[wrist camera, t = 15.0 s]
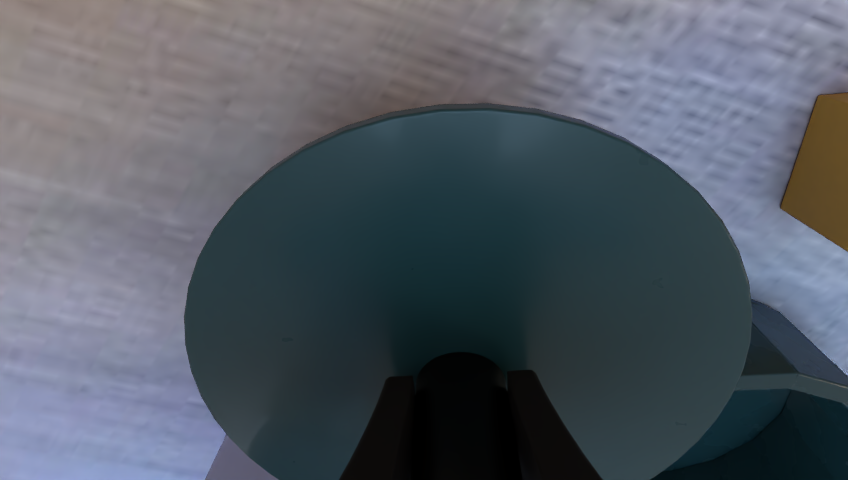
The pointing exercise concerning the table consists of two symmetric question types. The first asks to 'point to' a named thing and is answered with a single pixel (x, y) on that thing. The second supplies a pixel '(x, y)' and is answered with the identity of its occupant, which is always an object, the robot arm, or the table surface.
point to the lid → (468, 296)
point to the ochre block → (823, 172)
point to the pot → (775, 414)
